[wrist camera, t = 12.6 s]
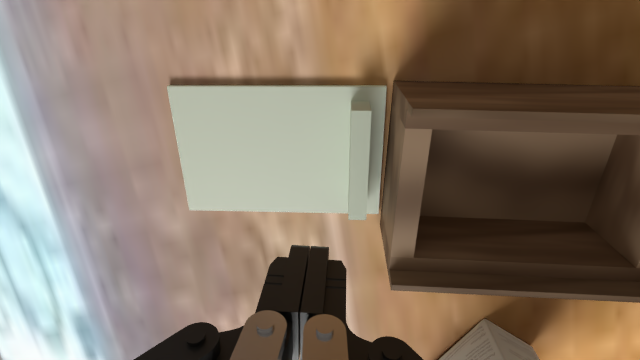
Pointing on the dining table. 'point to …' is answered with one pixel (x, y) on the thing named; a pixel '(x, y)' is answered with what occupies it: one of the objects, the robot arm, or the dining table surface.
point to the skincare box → (490, 345)
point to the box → (513, 190)
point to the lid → (281, 147)
